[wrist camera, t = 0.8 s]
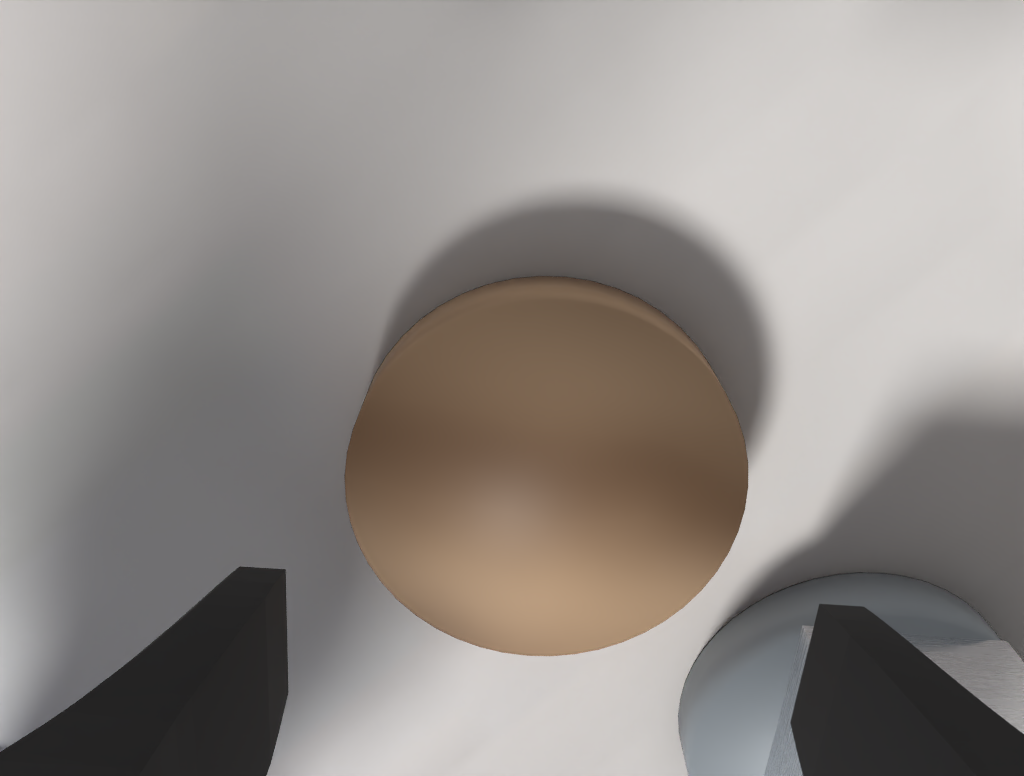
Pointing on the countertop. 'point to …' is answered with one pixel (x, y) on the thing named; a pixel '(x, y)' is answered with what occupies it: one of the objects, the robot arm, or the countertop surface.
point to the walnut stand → (545, 468)
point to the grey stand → (791, 661)
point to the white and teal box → (971, 662)
